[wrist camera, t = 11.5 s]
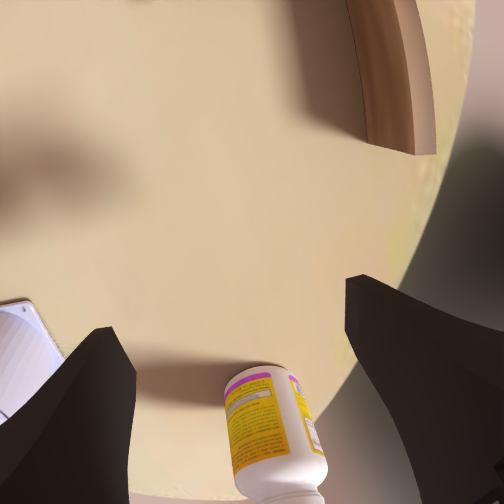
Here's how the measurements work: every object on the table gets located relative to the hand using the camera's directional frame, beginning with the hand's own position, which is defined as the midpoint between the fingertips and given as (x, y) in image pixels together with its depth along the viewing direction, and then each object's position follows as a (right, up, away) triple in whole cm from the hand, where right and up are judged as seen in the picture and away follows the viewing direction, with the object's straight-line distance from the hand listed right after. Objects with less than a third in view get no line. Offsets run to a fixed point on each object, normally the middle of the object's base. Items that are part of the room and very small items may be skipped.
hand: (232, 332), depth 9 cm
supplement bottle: (+1, -9, +16) cm, 19 cm away
